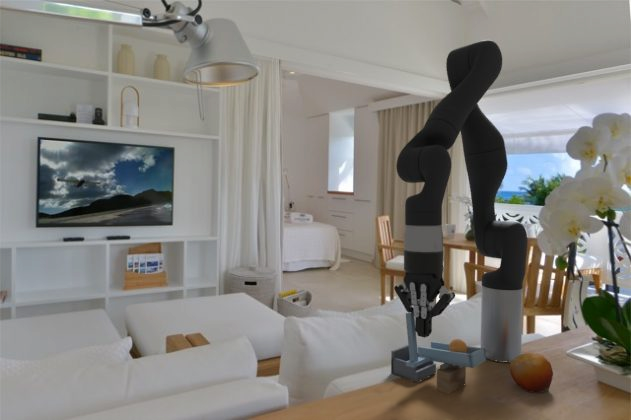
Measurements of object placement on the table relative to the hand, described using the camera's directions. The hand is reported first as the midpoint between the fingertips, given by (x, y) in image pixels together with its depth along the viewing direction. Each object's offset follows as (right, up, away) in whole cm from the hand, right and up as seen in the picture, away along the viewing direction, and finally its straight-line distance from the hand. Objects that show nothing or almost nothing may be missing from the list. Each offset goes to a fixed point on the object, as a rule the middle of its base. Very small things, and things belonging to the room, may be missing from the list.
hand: (423, 335), depth 86 cm
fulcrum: (+6, -11, +3) cm, 14 cm away
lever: (+4, -6, +1) cm, 7 cm away
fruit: (+23, -12, +3) cm, 26 cm away
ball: (+7, -3, +2) cm, 8 cm away
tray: (0, -11, +10) cm, 15 cm away
